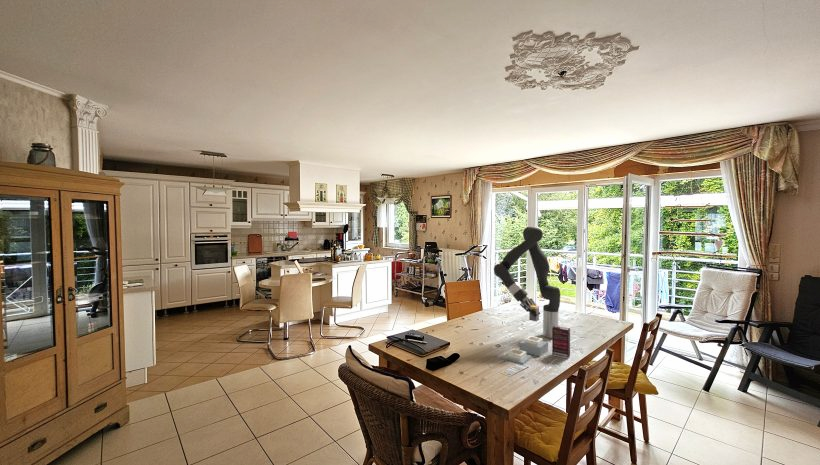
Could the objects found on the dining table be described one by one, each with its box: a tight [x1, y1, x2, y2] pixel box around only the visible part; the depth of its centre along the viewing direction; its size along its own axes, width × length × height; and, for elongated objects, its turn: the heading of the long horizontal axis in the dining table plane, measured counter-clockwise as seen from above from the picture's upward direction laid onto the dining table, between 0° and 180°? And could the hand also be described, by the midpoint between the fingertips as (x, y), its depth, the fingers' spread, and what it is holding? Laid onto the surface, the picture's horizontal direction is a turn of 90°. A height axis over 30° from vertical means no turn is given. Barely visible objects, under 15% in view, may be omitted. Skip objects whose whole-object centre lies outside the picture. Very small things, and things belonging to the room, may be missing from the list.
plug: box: [528, 305, 540, 322], centre depth 192 cm, size 4×4×8 cm
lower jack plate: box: [501, 347, 533, 365], centre depth 181 cm, size 12×12×4 cm
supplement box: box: [551, 325, 571, 359], centre depth 185 cm, size 9×5×16 cm, turn 53°
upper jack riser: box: [519, 335, 549, 357], centre depth 192 cm, size 12×12×7 cm
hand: (537, 315), depth 190 cm, fingers closed on plug, 4 cm apart
